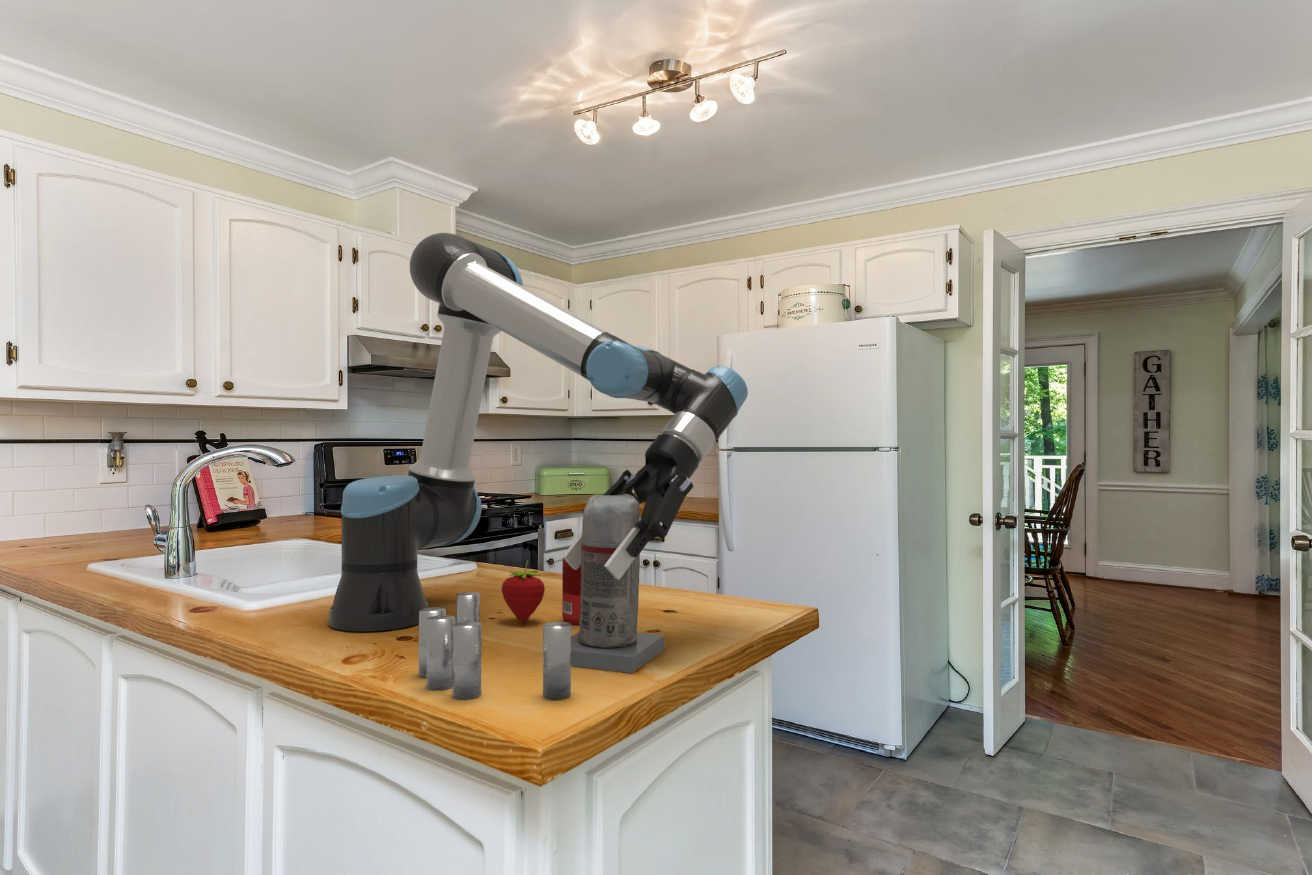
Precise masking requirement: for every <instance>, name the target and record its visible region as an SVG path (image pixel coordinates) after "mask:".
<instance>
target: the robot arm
mask: <svg viewBox="0 0 1312 875" xmlns="http://www.w3.org/2000/svg"><path fill="white" fill-rule="evenodd" d="M409 273H410V278H411V280H412V283H413V285H414V286H415V288H416V289H417V290H418V291H419V292H420V294H421V295H423V296H424V297H425V298H427V299H429V300H431V301H433V302H435V303H438V310H437V315H436V316H437V317H438V320H439V321H440V323H442V325H443V333H442V336H441V337H442V338H441V344H440V348H439V354H438V360H437V366H436V370H435V376H434V382H433V386H432V392H431V398H430V402H429V409H428V414H427V420H426V424H425V431H424V436H423V441H422V447H421V451H420V457H419V459H418V460H417V461H416V462H414V463H413V464H411V465H410V466H409V468H408V473H407V474H404V475H403V474H399V475H395V474H394V475H384V476H375V477H374V476H373V477H367V478H362V479H358V480H354V481H352V482H350V483H348V484H347V485H346V486H345V488H344V489H343V491H342V502H341V503H342V504H341V507H340V513H341V572H340V574H341V575H340V579H339V582H338V584H337V588H336V591H335V595H334V598H333V602H332V605H331V606H330V609H329V611H328V626H329V627H331V628H332V629H335V630H341V631H345V632H347V631H348V632H379V631H389V630H397V629H403V628H408V627H412V626H416V625H419V610H421V609H424V608H429V604H428V601H427V600H426V598H425V593H424V590H423V585H422V583H421V580H420V576H419V573H418V552H419V551H418V550H423V549H428V548H429V549H430V548H435V547H436V548H437V547H446V546H449V545H452V544H455V543H456V542H457V543H458V542H460V541H462V540H464V539H465V538H467V537H469V535H471V534H472V533H473V532H474V531H475V529H476V528H477V525H478V524H479V522H480V520H481V515H482V501H481V500H482V499H481V497H480V496H478V494H479V493H478V490H477V489H476V488H475V483H476V482H475V481H476V476H475V475H474V473H473V472H472V470H471V469H470V463H471V457H472V452H473V451H472V450H473V446H474V441H475V435H476V431H477V430H476V429H477V425H478V424H477V423H478V420H479V413H480V410H481V409H480V408H481V404H482V398H483V394H484V387H485V382H486V377H487V372H488V371H487V370H488V366H489V362H490V357H491V352H492V345H493V340H494V338H495V336H497V335H498V334H500V333H501V332H503V333H504V334H505V333H506V334H507V335H509V336H510V337H512V338H513V339H516V340H517V341H519V342H521V344H525V345H526V346H527V347H529V348H531V349H533V350H535V351H537V352H539V353H540V354H542V355H543V356H545V357H547V358H549V359H550V360H553V361H555V363H558V364H560V365H561V366H563V367H565V368H566V369H569V370H570V371H572V372H573V373H576V374H577V375H579V376H580V377H582V378H584V379H586V380H587V381H589V382H590V384H591V386H592V387H593V388H594V389H595V390H596V391H598V392H599V393H601V394H604V395H606V396H608V397H611V398H613V399H627V400H628V399H629V400H635V401H642V402H649V403H651V404H654V405H655V406H657V407H660V408H662V409H665V410H666V411H669V412H671V413H672V414H673V416H672V417H671V418H670V420H669V421H668V422H667V424H665V426H664V427H663V428H662V429H661V431H660V432H659V433H660V434H659V435H657V437H655V439H654V440H653V442H652V443H651V444H650V445H649V447H648V448H647V449H646V450H645V453H644V458H645V464H644V466H642V468H640V469H639V470H638V471H637V472H635V473H632V472H631V471H630V470H629V469H625V470H624V471H623V472H622V473H621V475H620V477H619V478H618V479H617V481H615V482H614V484H612V485H611V486H610V487H609V488H608V489H607V490H606V492H604V494H602V495H603V496H605V495H612V496H613V495H623V494H629V495H631V496H633V497H634V498H635V499H636V500H637V501H638V502H639V506H640V505H642V503H644V502H645V503H644V506H643V510H642V513H641V516H640V522H637V524H636V523H635V525H636V526H637V527H638V528H639V531H638V530H637V529H636V528H632V529H631V530H630V532H629V533H628V534H627V536H626V537H625V538H624V540H623V541H622V542H621V544H620V545H619V546H618V548H617V549H616V550H615V552H614V553H613V554H612V556H611V557H610V558H609V560H608V561H607V563H606V564H605V565H604V566H605V568H606V569H607V570H608V571H609V572H610V573H611V574H612V575H613V576H614V578H615V579H617V580H620V578H621V577H622V576H623V574H624V573H625V571H626V570H627V569H628V567H629V566H630V565H631V563H632V562H633V560H634V559H635V558H636V557H637V556H638V555H639V554H641V552H642V551H643V550H644V548H645V547H646V545H647V544H648V543H649V542H651V541H654V540H655V539H656V537H657V538H659V539H664V538H665V537H666V536H668V533H669V532H670V529H671V527H672V525H673V523H674V521H675V519H676V516H677V514H678V513H679V511H680V509H681V506H682V504H683V502H684V500H685V498H686V496H687V495H688V494H689V493H690V491H691V490H693V488H694V484H693V482H692V481H691V480H690V478H692V476H693V475H694V473H695V472H696V471H697V469H698V467H699V464H701V463H702V462H703V460H704V459H705V457H706V456H707V454H709V452H710V451H711V448H712V447H713V446H714V445H715V444H716V443H717V441H718V439H719V438H720V437H721V436H722V435H723V433H724V432H725V430H726V429H727V428H728V427H729V425H730V423H731V422H732V421H733V420H734V419H735V418H736V417H737V416H738V414H739V411H740V410H741V408H742V406H743V404H744V403H745V401H746V400H747V399H748V395H749V392H748V386H747V383H746V381H745V380H744V378H743V377H742V376H741V375H740V374H739V372H737V371H736V370H735V369H732V368H730V367H728V366H725V365H724V366H720V365H714V366H712V367H711V368H710V369H709V370H708V371H706V372H705V373H703V372H700V371H698V370H695V369H691V368H690V367H688V366H686V365H684V364H682V363H680V362H677V361H676V360H673V359H672V358H670V357H668V356H665V355H663V354H662V353H660V352H658V351H656V350H653V349H652V348H648V347H645V346H640V345H637V346H634V345H632V344H630V343H628V342H627V341H625V340H624V339H622V338H619V337H618V336H616V335H613V334H612V333H610V332H608V331H606V330H604V329H602V328H600V327H598V326H597V325H595V324H593V323H591V322H590V321H588V320H586V319H584V318H582V317H580V316H578V315H577V314H575V313H573V312H571V311H569V310H567V309H565V308H564V307H562V306H560V305H558V304H556V303H554V302H553V301H551V300H549V299H547V298H545V297H543V296H542V295H540V294H538V293H537V292H534V291H532V290H531V289H529V288H527V287H525V286H524V283H523V279H522V275H521V273H520V270H519V269H518V267H517V265H516V264H515V263H514V262H513V261H512V260H511V259H510V258H508V257H506V256H505V255H503V254H502V253H501V252H500V251H497V250H495V249H492V248H490V247H487V246H484V245H481V244H479V243H477V242H474V241H473V240H469V239H467V238H465V237H463V236H461V235H458V234H455V233H451V232H438V233H434V234H431V235H428V236H426V237H425V238H423V239H422V240H420V241H419V243H417V245H416V246H415V247H414V249H413V251H412V252H411V256H410V260H409ZM635 494H636V495H635ZM581 544H582V531H581V532H580V533H579V535H578V536H577V537H576V539H575V540H574V541H573V542H572V544H571V545H570V546H569V547H568V549H567V550H566V551H565V552H564V553H565V554H564V553H563V554H564V555H563V554H562V559H563V558H564V559H565V560H566V562H567V563H568V564H569V565H570V566H571V567H572V568H573V569H574V570H577V569H578V568H579V566H580V565H581Z"/></svg>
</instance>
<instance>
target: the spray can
mask: <svg viewBox="0 0 1312 875" xmlns="http://www.w3.org/2000/svg"><path fill="white" fill-rule="evenodd" d="M603 495H604V494H594V495H592V496H590V497H589V498H588V501H587V503H586V505H585V506H584V508H583V515H582V523H581V524H582V528H581V532H582V544H581V576H582V577H581V609H580V616H579V625H578V627H579V631H578V632H579V637H578V640H579V641H580V642H582V643H583V644H588V645H590V646H598V647H608V648H609V647H624V646H627V645H630V644H633V643H635V641H637V635H636V634H637V631H638V620H639V619H638V618H639V617H638V616H639V593H640V591H639V588H640V569H641V567H640V563H641V555H640V554H641V553H640V554H639V555H638V556H637V557H636V558H635V559H634V560H633V562H632V563H631V565H630V566H629V567H628V569H627V570H626V571H625V573H624V574H623V576H622V577H621V578H620V580H617V579H615V578H614V576H613V575H612V574H611V573H610V572H609V571H608V570H607V569H606V568H605V566H604V565H605V564H606V563H607V561H608V560H609V558H610V557H611V556H612V554H613V553H614V552H615V550H616V549H617V548H618V546H619V545H620V544H621V542H622V541H623V540H624V538H625V537H626V536H627V534H628V533H629V532H630V530H631V529H632V528H636V529H637V530H638V531H639V528H638V527H637V526H636V525H635V523H636V524H637V522H640V519H641V517H640V514H641V513H640V510H641V508H640V505H639V502H638V501H637V500H636V499H635V498H634V497H633V496H631V495H629V494H623V495H613V496H612V495H605V496H603Z"/></svg>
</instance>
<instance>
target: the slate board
mask: <svg viewBox="0 0 1312 875" xmlns="http://www.w3.org/2000/svg"><path fill="white" fill-rule="evenodd" d="M579 632H580V631H578V632H577V633H575V634H573V635H571V667H578V668H584V669H585V668H586V669H592V670H593V669H595V670H603V671H612V672H618V673H619V672H621V673H628V674H633V673H635V672H636V671H638V670H639V669H640V668H642V667H643V666H644V665H645V664H647V663H648V662H650V661H651V660H652V659H654V658H656V656H658V655H659V654H660V653H662V652H663V651H665V647H666V646H665V644H666V643H665V642H666V641H665V639H666V638H665V637H666V636H665V634H655V633H649V632H648V633H646V632H637V634H636V635H637V641H635V643H633V644H630V645H627V646H624V647H609V648H608V647H598V646H590V645H588V644H583V643H582V642H580V641H579V640H578V637H579Z"/></svg>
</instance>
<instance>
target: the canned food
mask: <svg viewBox="0 0 1312 875" xmlns="http://www.w3.org/2000/svg"><path fill="white" fill-rule="evenodd" d="M565 553H566V552H564V553H563V554H562V556H563V555H564V554H565ZM561 566H562V569H561V570H562V574H561V575H562V578H561V579H562V584H561V585H562V593H561V594H562V595H561V596H562V599H561V600H562V604H561V605H562V607H561V608H562V615H561V616H562V618H563V622H566V623H570V624H571V625H574V626H579V616H580V609H581V577H582V576H581V565H580V566H579V568H578V569H577V570H574V569H573V568H572V567H571V566H570V565H569V564H568V563H567V562H566V560H565V559H564V558H563V557H562V565H561Z"/></svg>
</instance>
